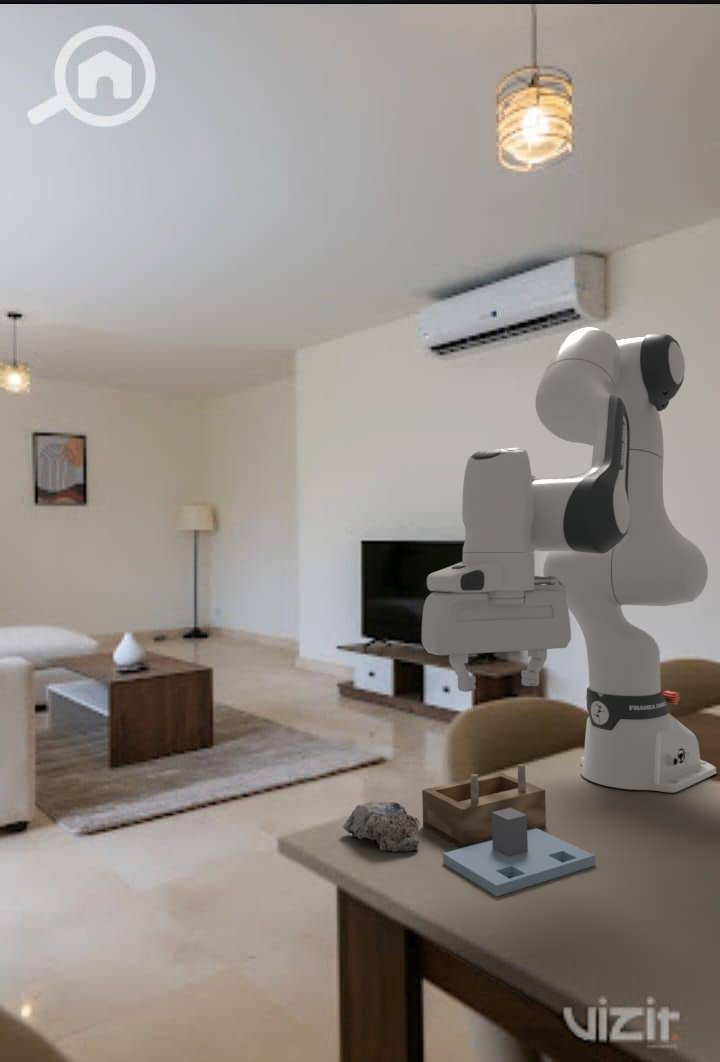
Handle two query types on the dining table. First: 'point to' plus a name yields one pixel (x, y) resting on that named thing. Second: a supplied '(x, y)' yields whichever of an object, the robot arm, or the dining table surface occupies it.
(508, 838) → the grey peg base plate
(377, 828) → the mineral specimen
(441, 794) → the wooden box with pegs
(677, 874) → the dining table surface
